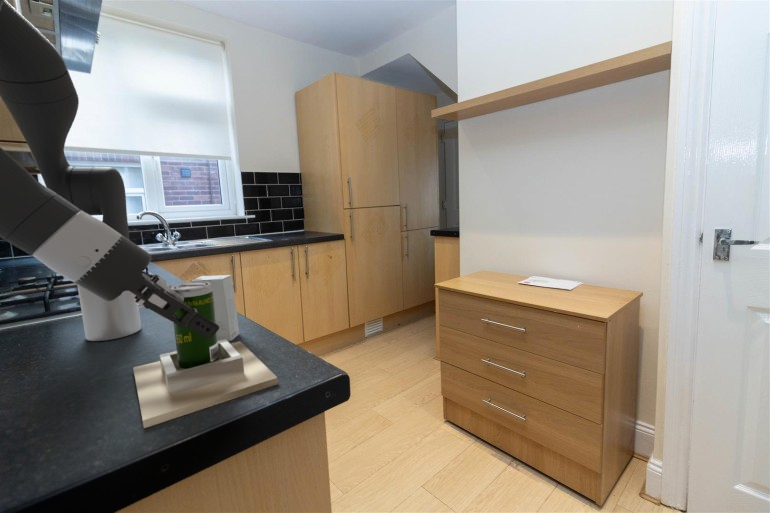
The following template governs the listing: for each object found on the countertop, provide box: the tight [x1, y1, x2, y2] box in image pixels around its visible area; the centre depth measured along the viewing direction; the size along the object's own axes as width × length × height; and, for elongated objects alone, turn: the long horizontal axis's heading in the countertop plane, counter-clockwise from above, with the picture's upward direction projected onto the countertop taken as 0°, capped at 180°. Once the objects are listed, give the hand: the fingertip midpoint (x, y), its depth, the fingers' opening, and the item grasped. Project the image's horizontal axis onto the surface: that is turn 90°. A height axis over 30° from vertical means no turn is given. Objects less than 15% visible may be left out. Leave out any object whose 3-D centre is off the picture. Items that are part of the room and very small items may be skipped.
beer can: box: [172, 282, 219, 370], centre depth 53 cm, size 5×5×12 cm
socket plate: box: [132, 339, 279, 429], centre depth 54 cm, size 18×16×4 cm
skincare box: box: [190, 274, 240, 342], centre depth 70 cm, size 6×4×12 cm
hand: (209, 327), depth 54 cm, fingers closed on beer can, 5 cm apart
